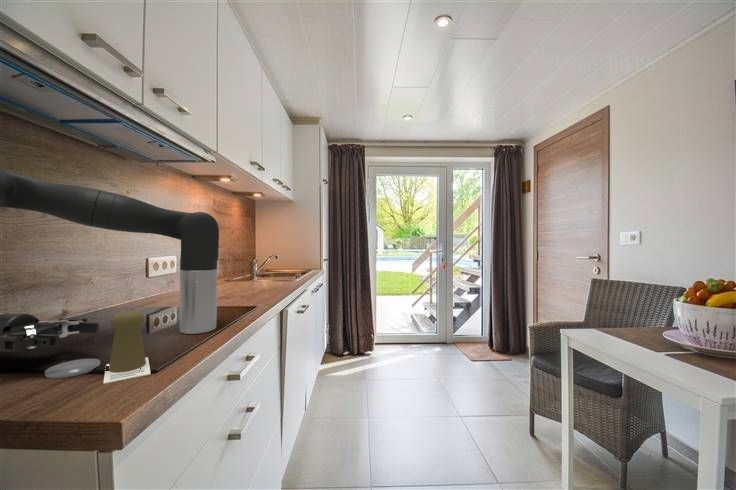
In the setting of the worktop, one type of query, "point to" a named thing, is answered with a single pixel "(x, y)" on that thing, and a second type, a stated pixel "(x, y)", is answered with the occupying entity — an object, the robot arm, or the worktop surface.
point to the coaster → (72, 368)
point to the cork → (127, 342)
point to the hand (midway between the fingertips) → (79, 334)
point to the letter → (127, 373)
